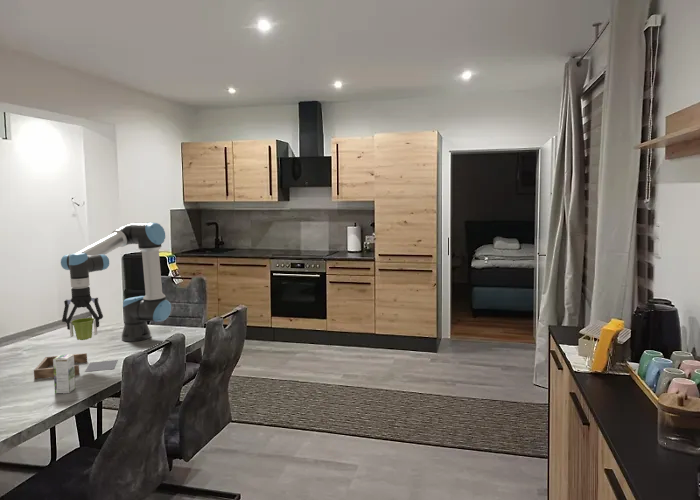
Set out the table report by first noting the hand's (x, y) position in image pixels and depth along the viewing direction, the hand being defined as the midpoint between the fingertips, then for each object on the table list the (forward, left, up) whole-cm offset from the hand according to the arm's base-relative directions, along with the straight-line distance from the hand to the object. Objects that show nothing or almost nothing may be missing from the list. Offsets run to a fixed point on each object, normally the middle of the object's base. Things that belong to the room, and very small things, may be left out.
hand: (84, 335), depth 240 cm
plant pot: (0, 0, -2) cm, 2 cm away
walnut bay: (+10, 0, -15) cm, 18 cm away
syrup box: (+2, +31, -15) cm, 35 cm away
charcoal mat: (-7, 0, -15) cm, 16 cm away
